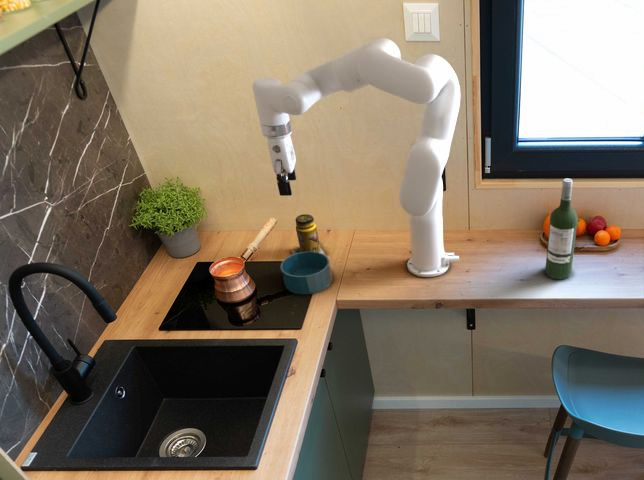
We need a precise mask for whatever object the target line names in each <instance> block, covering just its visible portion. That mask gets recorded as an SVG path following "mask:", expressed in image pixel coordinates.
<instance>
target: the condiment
mask: <svg viewBox="0 0 644 480" xmlns="http://www.w3.org/2000/svg"><path fill="white" fill-rule="evenodd" d="M295 231H296V236H297V240H298V245H299V247H298V248H293V249H291V250H290V251H291V253H292V255H293V254H296V253H300V252H309V251H312V252H319V253H322V254H324V255H326V253H325V251H324V250H323V249H322V248H321V245H320V238H319V233H318V227H317V224H316V223H315V218H314V216H312V214H308V213H304V214H299V215H297V216H296V217H295Z"/></svg>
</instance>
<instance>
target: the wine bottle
mask: <svg viewBox="0 0 644 480" xmlns="http://www.w3.org/2000/svg"><path fill="white" fill-rule="evenodd" d="M573 183H574V182H573V179H572V178H567V177H566V178H564V179H563V181H562V184H561V185H562V188H561V193H560V201H559V202H560V203H559V206H557V207H556V208H555V209H553V211H552V212H551V213H550V216H549V224H548V236H547V246H546V247H547V248H546V259H545V268H544V269H545V274H546V276H548V278H551V279H554V280H565V279H568V278H569V277H570V276H571V275H572V269H573V263H574V262H573V261H574V253H575V246H576V245H575V244H576V236H577V227H578V221H579V220H578V219H579V218H578V217H579V216H578V214H577V212H576V211H575V210H574V209H573V207H572V206H571V205H572V194H573V193H572V191H573V185H574V184H573Z"/></svg>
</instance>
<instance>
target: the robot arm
mask: <svg viewBox="0 0 644 480" xmlns="http://www.w3.org/2000/svg"><path fill="white" fill-rule="evenodd" d="M369 85H370V86H372V87H373V88H376V89H378V90H380V91H383V92H385V93H387V94H390V95H393V96H395V97H398V98H401V99H403V100H406V101H408V102H411V103H414V104H418V105H425V108H424V111H423V115H422V121H421V125H420V129H419V133H418V135H417V138H416V140H415V141H414V143H413V144H412V146H411V148H410V150H409V152H408V155H407V158H406V160H405V165H404V170H403V173H402V179H401V184H400V187H399V193H398V200H399V203H400V206H401V207H402V209H403V210H404V212H405V213H407V214H408V220H409V223H408V225H409V234H410V235H409V236H410V245H411V246H410V247H411V248H410V250H411V257H410V258H409V259H408V261H407V270H408V271H409V272H410V273H411V274H413V275H415V276H417V277H423V278H433V277H438V276H441V275H443V274H444V273H446V272H447V271H448V269H449V267H450V263H460V255H455V252H447V251H445V247H444V227H443V226H444V225H443V197H444V195H443V193H444V184H443V178H442V175H443V173H444V169H445V166H446V164H447V162H448V159H449V156H450V151H451V145H452V141H453V136H454V134H455V133H454V132H455V129H456V125H457V119H458V116H459V115H458V114H459V111H460V106H461V87H460V83H459V78H458V76H457V74H456V72H455V70H454V68H453V67H452V66H451V64H450V63H449V62H448V61H447V60H446V59H445V58H443V57H442V56H440V55H437V54H435V53H428V54H425V55H423V56H420V57H419V58H418V59H417V60H416V61H415V62H414V63H411V62H409V61H406V60H404V59H402V54H401V50H400V48H399V47H398V45H397V44H396V43H395V42H394V41H393V40H391V39H390V38H387V37H386V38H385V37H381V38H377V39H373V40H371V41H369V42H367V43H365V44H363V45H361V46H359V47H356V48H354V49H353V50H350V51H348V52H346V53H344V54H342V55H340V56H339V55H338V56H337V57H335V58H333V59H331V60H329V61H326V62H323V63H322V64H321V63H320V64H319V65H317V66H315V67H313V68H311V69H309V70H306V71H304V72H302V73H300V74H299V75H296V76H295V77H294V78H293V79H291V80H290V81H289V82H287V83H284V84H283V83H282V81H281V80H280V79H278V78H275V77H261V78H260V77H259V78H257V79H255V80H254V81H253V83H252V93H253V97H254V102H255V106H256V110H257V115H258V119H259V124H260V128H261V133H262V136H263V137H264V138H266V140H267V146H268V151H269V156H270V161H271V166H272V169H273V172H274V173H275V176H276V184H277V188H278V194H279V196H281V197H286V196H292V195H293V193H292V187H291V182H290V181H297V175H296V170H295V167H296V163H297V156H296V153H295V149H294V144H293V140H292V136H291V135H292V134H293V131H292V126H291V120H290V115H291V116H301V115H303V114H304V113H306V112H307V111H308V110H309V109H310V108H311V107H312V106H313V105H314V104H315V103H317V102H318V101H321V99H324V98H326V97H328V96H331V95H333V94H336V93H338V92H343V91H344V92H346V93H349V94H351V93H354V92H356V91H358V90H360V89H363V88H365V87H367V86H369Z"/></svg>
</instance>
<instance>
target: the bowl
mask: <svg viewBox="0 0 644 480" xmlns="http://www.w3.org/2000/svg"><path fill="white" fill-rule="evenodd" d="M280 272H281V275H282V280H283V283H284V287H285V289H286V290H287V291H288V292H290V293H293V294H296V295H312V294H316V293H320V292H321V291H323V290H325V289H327V288H328V287H329V286H330V285H331V284H332V282H333V273H332V267H331V262H330V259H329V257H328V256H327V255H326V254H322V253H319V252H312V251H309V252H300V253H296V254H293V253H292V254H290V255H289V256H287V257H285V258H284V259H283V260H282V261H281V263H280Z"/></svg>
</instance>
